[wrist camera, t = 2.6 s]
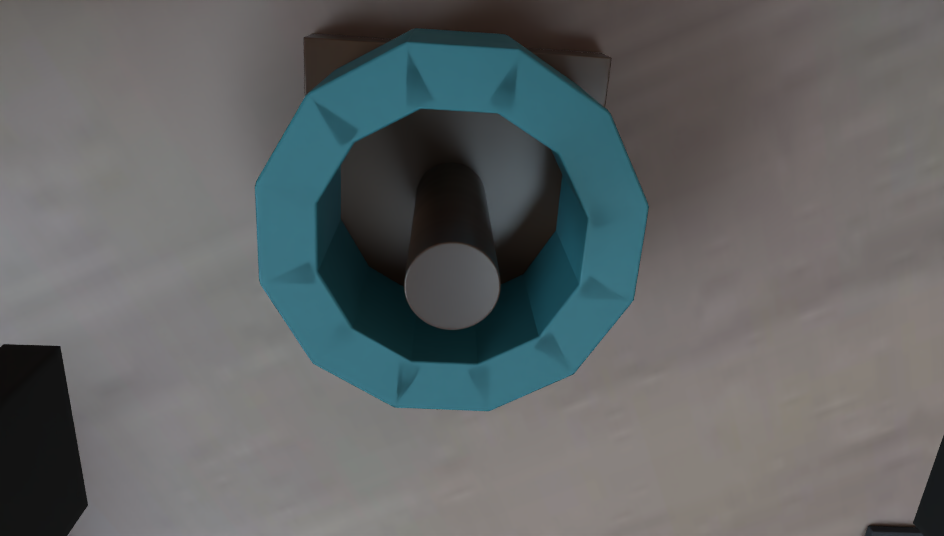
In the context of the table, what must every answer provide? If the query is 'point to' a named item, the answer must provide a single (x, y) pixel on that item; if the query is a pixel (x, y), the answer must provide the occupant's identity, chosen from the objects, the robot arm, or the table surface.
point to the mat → (892, 531)
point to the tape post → (450, 191)
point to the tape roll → (383, 301)
